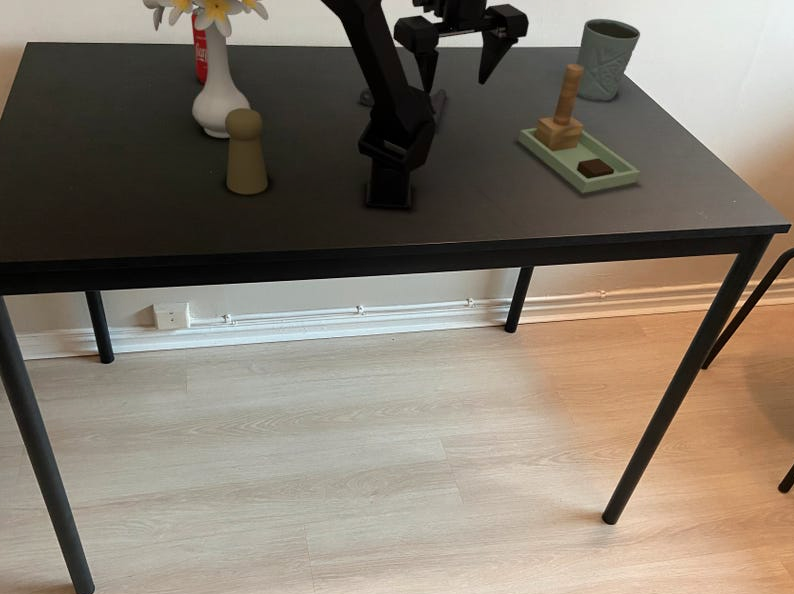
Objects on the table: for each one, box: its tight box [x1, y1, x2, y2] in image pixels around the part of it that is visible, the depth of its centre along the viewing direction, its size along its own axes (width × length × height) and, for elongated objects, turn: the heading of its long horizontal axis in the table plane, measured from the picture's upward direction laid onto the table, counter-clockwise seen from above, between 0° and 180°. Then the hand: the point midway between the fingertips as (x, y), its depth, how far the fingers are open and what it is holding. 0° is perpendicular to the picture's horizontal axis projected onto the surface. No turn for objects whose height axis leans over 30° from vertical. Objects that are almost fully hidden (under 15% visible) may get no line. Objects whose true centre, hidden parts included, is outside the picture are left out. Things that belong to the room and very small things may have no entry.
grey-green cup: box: [576, 18, 641, 102], centre depth 134 cm, size 10×10×12 cm
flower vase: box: [142, 0, 269, 139], centre depth 108 cm, size 13×18×25 cm
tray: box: [518, 127, 641, 194], centre depth 116 cm, size 18×11×2 cm, turn 24°
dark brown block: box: [577, 158, 614, 179], centre depth 112 cm, size 4×4×2 cm
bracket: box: [359, 87, 447, 130], centre depth 126 cm, size 14×15×3 cm
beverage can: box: [190, 7, 208, 85], centre depth 127 cm, size 5×5×12 cm
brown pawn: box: [225, 108, 269, 195], centre depth 101 cm, size 6×6×11 cm
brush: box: [535, 63, 585, 151], centre depth 115 cm, size 6×4×13 cm
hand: (454, 88), depth 104 cm, fingers open, 9 cm apart
